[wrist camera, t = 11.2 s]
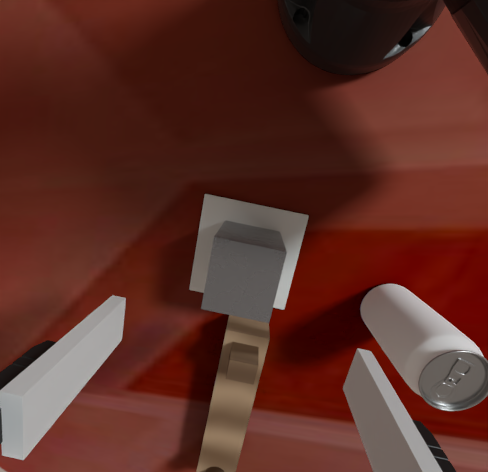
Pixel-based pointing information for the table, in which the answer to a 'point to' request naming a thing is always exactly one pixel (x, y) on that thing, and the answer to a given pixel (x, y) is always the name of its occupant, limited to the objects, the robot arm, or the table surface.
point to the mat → (253, 215)
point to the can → (426, 348)
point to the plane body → (233, 393)
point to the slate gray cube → (244, 271)
